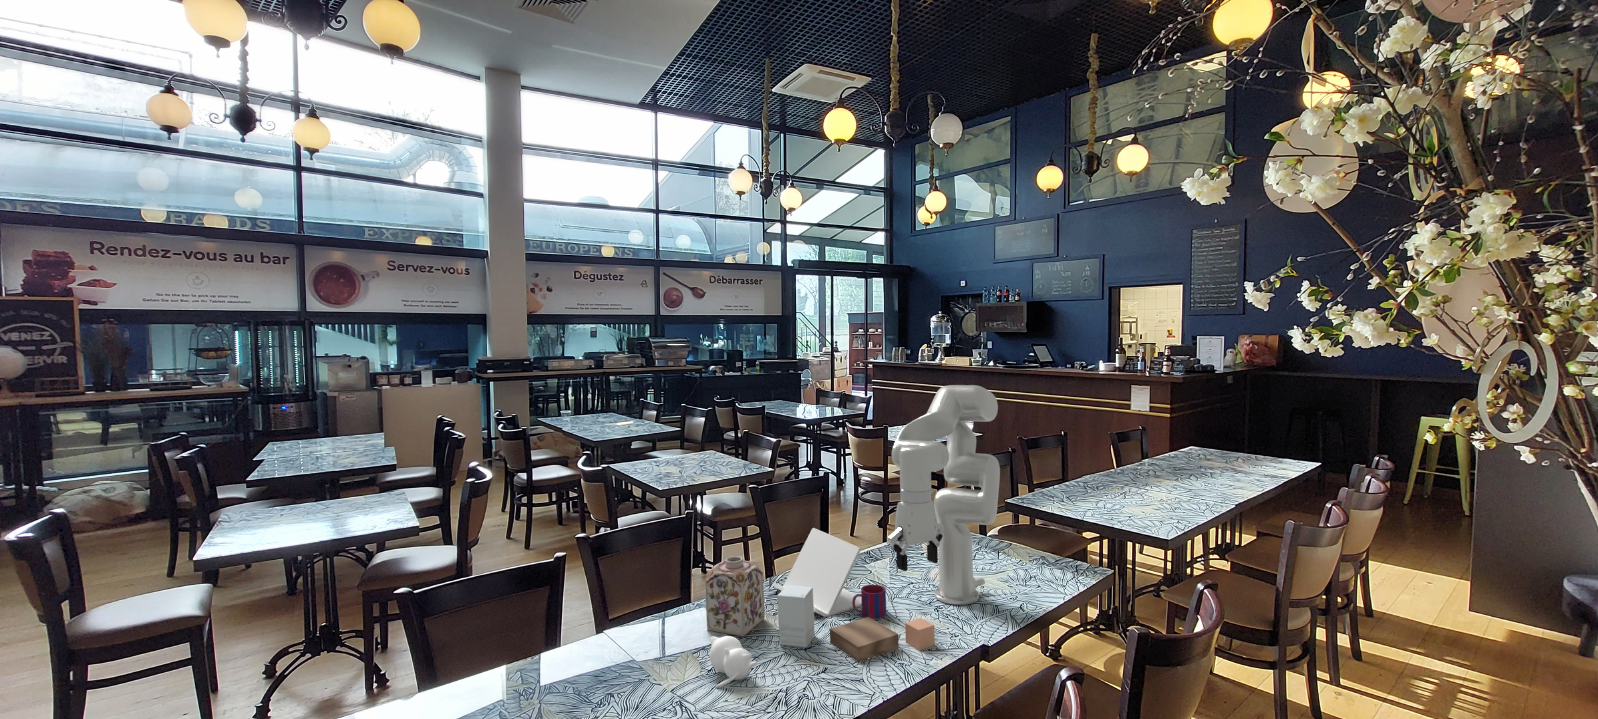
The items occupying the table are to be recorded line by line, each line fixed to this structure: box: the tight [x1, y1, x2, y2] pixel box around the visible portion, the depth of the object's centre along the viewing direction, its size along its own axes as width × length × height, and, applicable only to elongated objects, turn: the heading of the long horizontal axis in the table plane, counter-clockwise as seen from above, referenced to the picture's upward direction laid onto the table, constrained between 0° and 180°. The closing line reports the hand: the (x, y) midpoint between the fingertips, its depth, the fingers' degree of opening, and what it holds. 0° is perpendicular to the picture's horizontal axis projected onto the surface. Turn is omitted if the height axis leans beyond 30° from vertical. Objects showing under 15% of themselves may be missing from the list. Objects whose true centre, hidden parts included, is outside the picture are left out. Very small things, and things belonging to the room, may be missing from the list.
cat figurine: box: [709, 635, 758, 689], centre depth 147 cm, size 9×11×12 cm
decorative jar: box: [705, 555, 765, 637], centre depth 174 cm, size 12×12×18 cm
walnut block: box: [829, 617, 899, 663], centre depth 160 cm, size 12×12×4 cm
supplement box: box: [776, 585, 816, 648], centre depth 164 cm, size 7×7×13 cm
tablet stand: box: [772, 527, 862, 618], centre depth 191 cm, size 18×25×17 cm
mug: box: [852, 584, 887, 619], centre depth 178 cm, size 7×10×7 cm
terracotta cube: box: [904, 617, 936, 651], centre depth 160 cm, size 5×5×5 cm
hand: (917, 565), depth 159 cm, fingers open, 9 cm apart
